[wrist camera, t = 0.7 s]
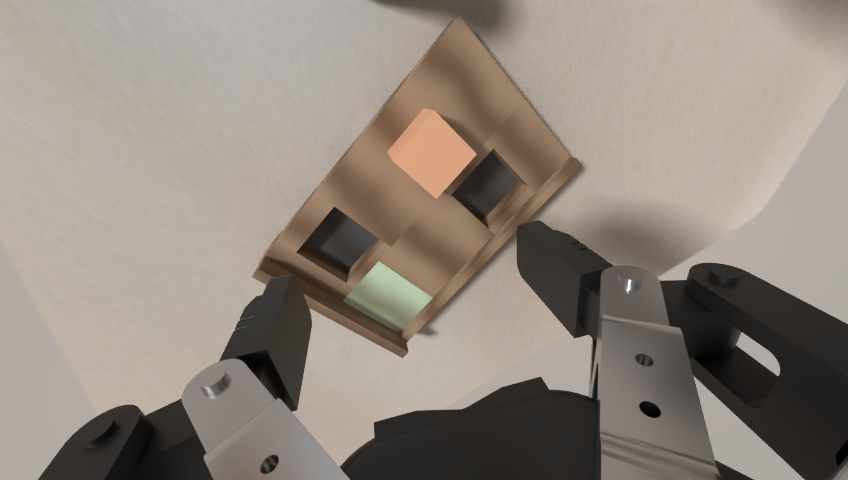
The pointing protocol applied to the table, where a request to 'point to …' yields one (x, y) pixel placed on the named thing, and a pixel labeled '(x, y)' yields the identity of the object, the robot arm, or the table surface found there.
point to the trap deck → (420, 199)
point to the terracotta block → (431, 152)
